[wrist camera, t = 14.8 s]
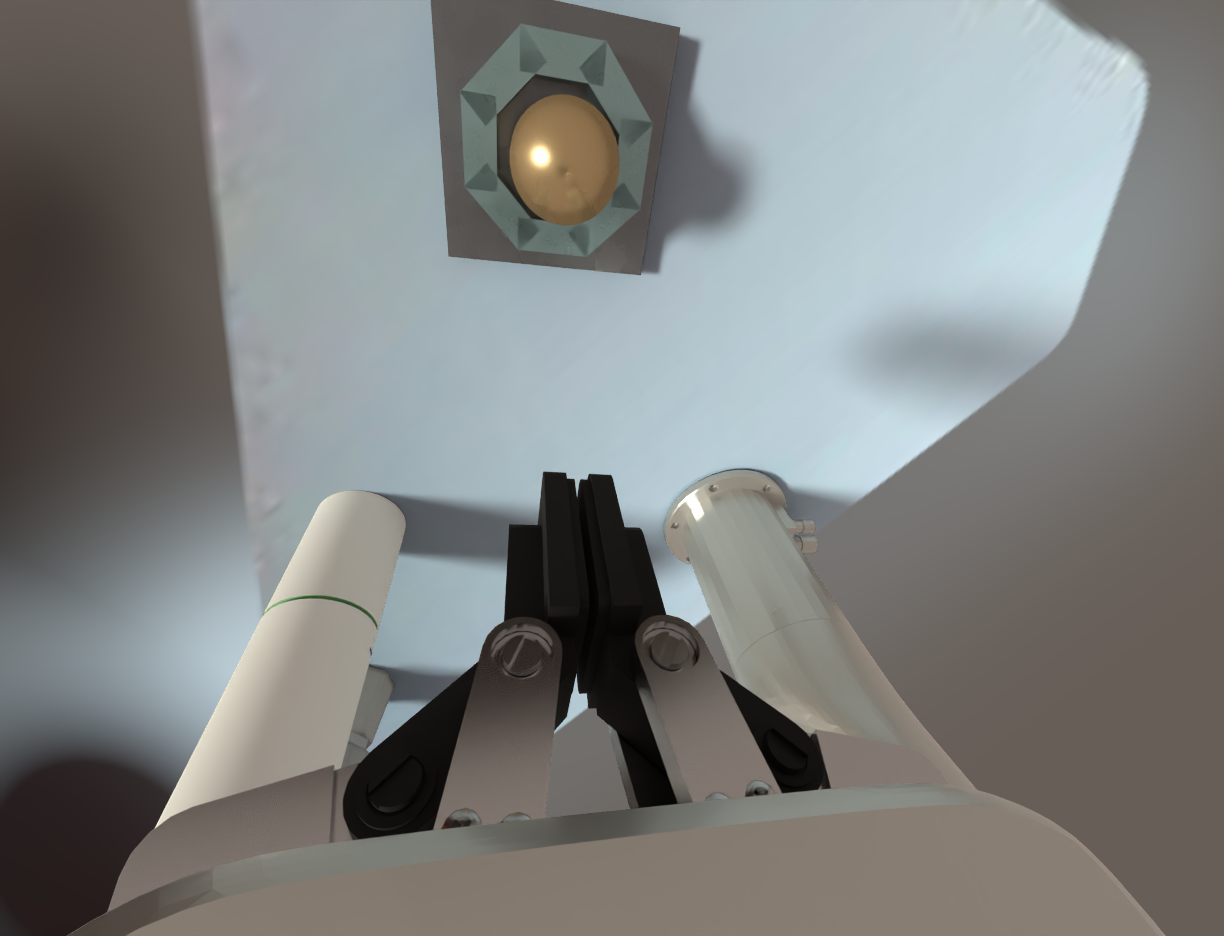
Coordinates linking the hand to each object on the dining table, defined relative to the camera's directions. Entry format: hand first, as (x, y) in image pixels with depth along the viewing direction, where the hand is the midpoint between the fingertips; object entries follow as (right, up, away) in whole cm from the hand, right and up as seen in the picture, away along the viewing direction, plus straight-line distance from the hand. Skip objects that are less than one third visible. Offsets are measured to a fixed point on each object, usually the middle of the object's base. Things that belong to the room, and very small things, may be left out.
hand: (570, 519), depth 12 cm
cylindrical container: (-21, -3, +29) cm, 36 cm away
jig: (-2, +20, +15) cm, 25 cm away
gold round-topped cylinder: (-2, +19, +14) cm, 24 cm away
